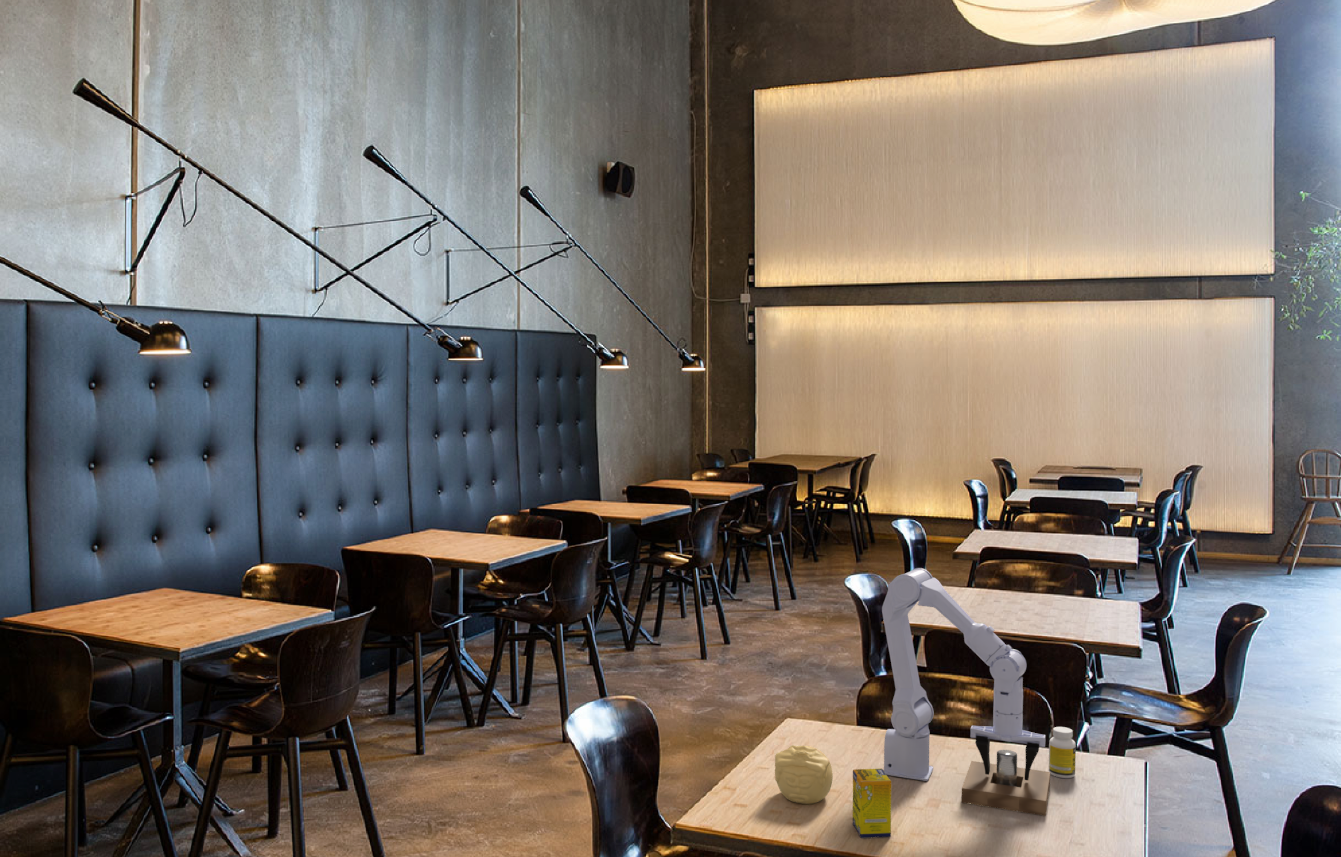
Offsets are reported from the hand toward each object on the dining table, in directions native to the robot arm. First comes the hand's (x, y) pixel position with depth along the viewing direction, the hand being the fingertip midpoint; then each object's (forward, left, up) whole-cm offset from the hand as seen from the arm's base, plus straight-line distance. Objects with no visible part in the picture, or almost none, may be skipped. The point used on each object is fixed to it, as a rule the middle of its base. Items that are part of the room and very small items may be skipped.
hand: (1006, 775), depth 209 cm
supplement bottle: (+10, +16, -4) cm, 19 cm away
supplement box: (-22, -28, -4) cm, 36 cm away
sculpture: (-38, -18, -4) cm, 42 cm away
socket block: (0, 0, -4) cm, 4 cm away
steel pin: (0, 0, -3) cm, 3 cm away
